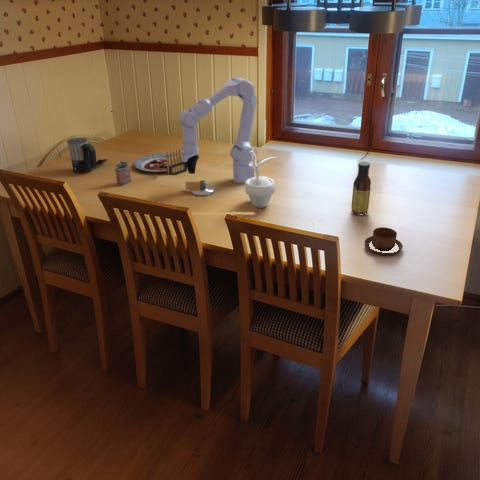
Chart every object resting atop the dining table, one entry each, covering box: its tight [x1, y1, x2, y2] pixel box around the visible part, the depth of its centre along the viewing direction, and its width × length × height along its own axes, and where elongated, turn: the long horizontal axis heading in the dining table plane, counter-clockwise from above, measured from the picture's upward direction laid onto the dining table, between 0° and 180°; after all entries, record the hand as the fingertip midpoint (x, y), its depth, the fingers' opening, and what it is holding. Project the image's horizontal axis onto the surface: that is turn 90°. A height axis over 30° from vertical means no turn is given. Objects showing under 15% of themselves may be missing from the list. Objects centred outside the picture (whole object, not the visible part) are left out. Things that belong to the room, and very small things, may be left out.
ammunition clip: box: [166, 146, 188, 176], centre depth 220 cm, size 11×2×12 cm, turn 136°
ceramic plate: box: [134, 153, 170, 173], centre depth 232 cm, size 26×26×3 cm
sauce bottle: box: [350, 161, 372, 215], centre depth 177 cm, size 6×6×20 cm
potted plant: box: [244, 147, 279, 209], centre depth 184 cm, size 13×12×25 cm
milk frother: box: [66, 137, 108, 174], centre depth 227 cm, size 14×16×15 cm
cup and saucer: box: [364, 226, 403, 256], centre depth 156 cm, size 12×12×6 cm
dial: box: [184, 180, 216, 197], centre depth 199 cm, size 12×10×4 cm
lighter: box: [114, 160, 133, 187], centre depth 210 cm, size 8×3×10 cm, turn 149°
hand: (191, 173), depth 200 cm, fingers closed
